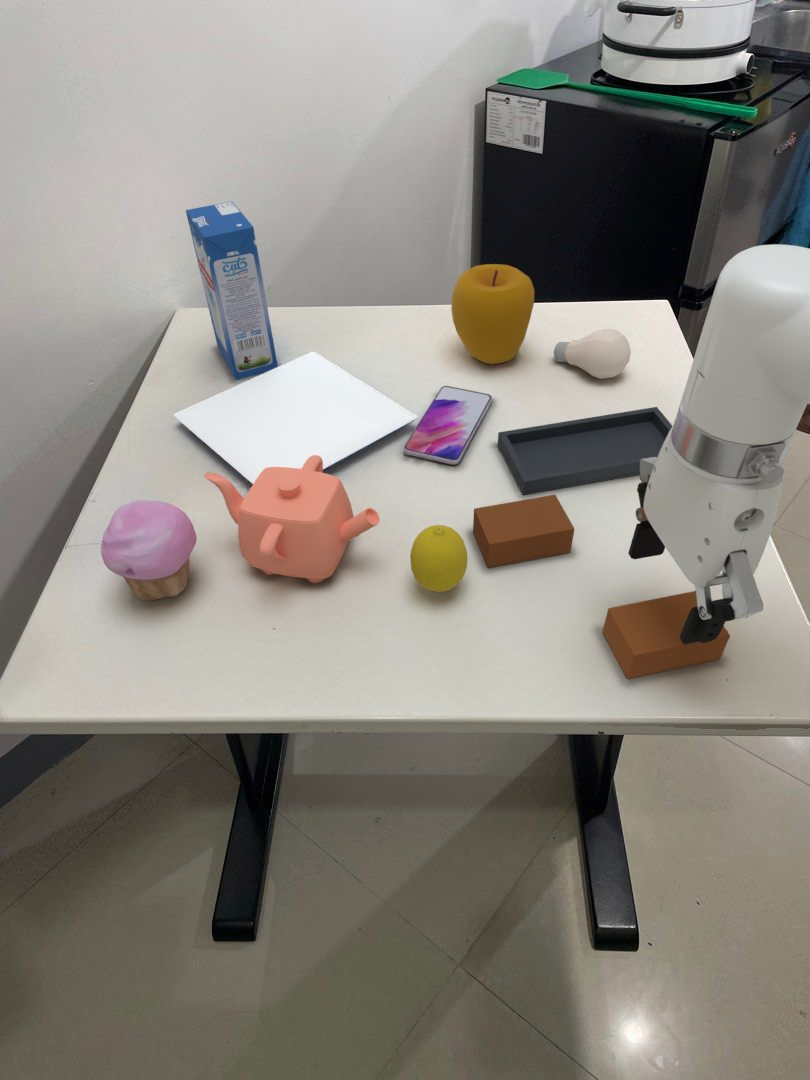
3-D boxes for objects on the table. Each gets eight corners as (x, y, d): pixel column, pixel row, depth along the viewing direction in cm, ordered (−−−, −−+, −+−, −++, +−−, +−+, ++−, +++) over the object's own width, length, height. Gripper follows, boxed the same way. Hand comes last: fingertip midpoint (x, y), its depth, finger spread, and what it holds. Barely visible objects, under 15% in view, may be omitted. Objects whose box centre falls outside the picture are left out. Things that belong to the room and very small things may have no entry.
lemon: (472, 573, 75) (475, 516, 69) (457, 613, 71) (459, 556, 66) (421, 562, 76) (419, 504, 71) (403, 600, 73) (400, 543, 67)
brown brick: (472, 532, 79) (473, 508, 77) (551, 518, 80) (555, 494, 78) (487, 568, 75) (489, 544, 73) (570, 552, 77) (574, 528, 74)
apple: (437, 362, 104) (436, 275, 95) (476, 330, 110) (479, 245, 101) (505, 385, 100) (511, 295, 90) (542, 350, 106) (551, 262, 97)
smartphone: (494, 394, 96) (457, 462, 87) (493, 400, 97) (457, 467, 87) (442, 384, 98) (400, 448, 88) (441, 389, 99) (400, 454, 89)
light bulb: (541, 332, 100) (616, 334, 93) (566, 322, 104) (639, 324, 97) (543, 380, 102) (616, 386, 95) (567, 369, 107) (639, 373, 100)
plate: (272, 510, 83) (269, 496, 81) (175, 426, 95) (171, 412, 94) (419, 429, 93) (418, 415, 92) (314, 362, 105) (313, 349, 104)
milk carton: (217, 347, 109) (185, 209, 95) (258, 337, 111) (231, 200, 97) (236, 380, 103) (203, 236, 89) (278, 369, 104) (253, 226, 90)
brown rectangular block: (602, 631, 69) (608, 607, 67) (690, 613, 70) (699, 589, 68) (626, 679, 65) (634, 655, 63) (720, 659, 66) (730, 635, 64)
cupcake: (137, 554, 79) (107, 482, 72) (217, 554, 78) (195, 482, 71) (111, 619, 72) (76, 547, 65) (198, 619, 72) (172, 547, 65)
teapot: (345, 501, 84) (336, 428, 76) (386, 569, 76) (380, 495, 69) (223, 540, 80) (201, 467, 73) (253, 616, 72) (232, 543, 65)
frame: (497, 445, 90) (498, 432, 89) (653, 419, 93) (656, 406, 91) (522, 495, 83) (524, 481, 82) (690, 466, 86) (694, 452, 85)
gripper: (857, 507, 46) (765, 667, 58) (716, 362, 58) (664, 520, 70) (747, 526, 45) (677, 685, 57) (626, 374, 56) (590, 532, 69)
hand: (670, 594), depth 63 cm, fingers open, 9 cm apart
